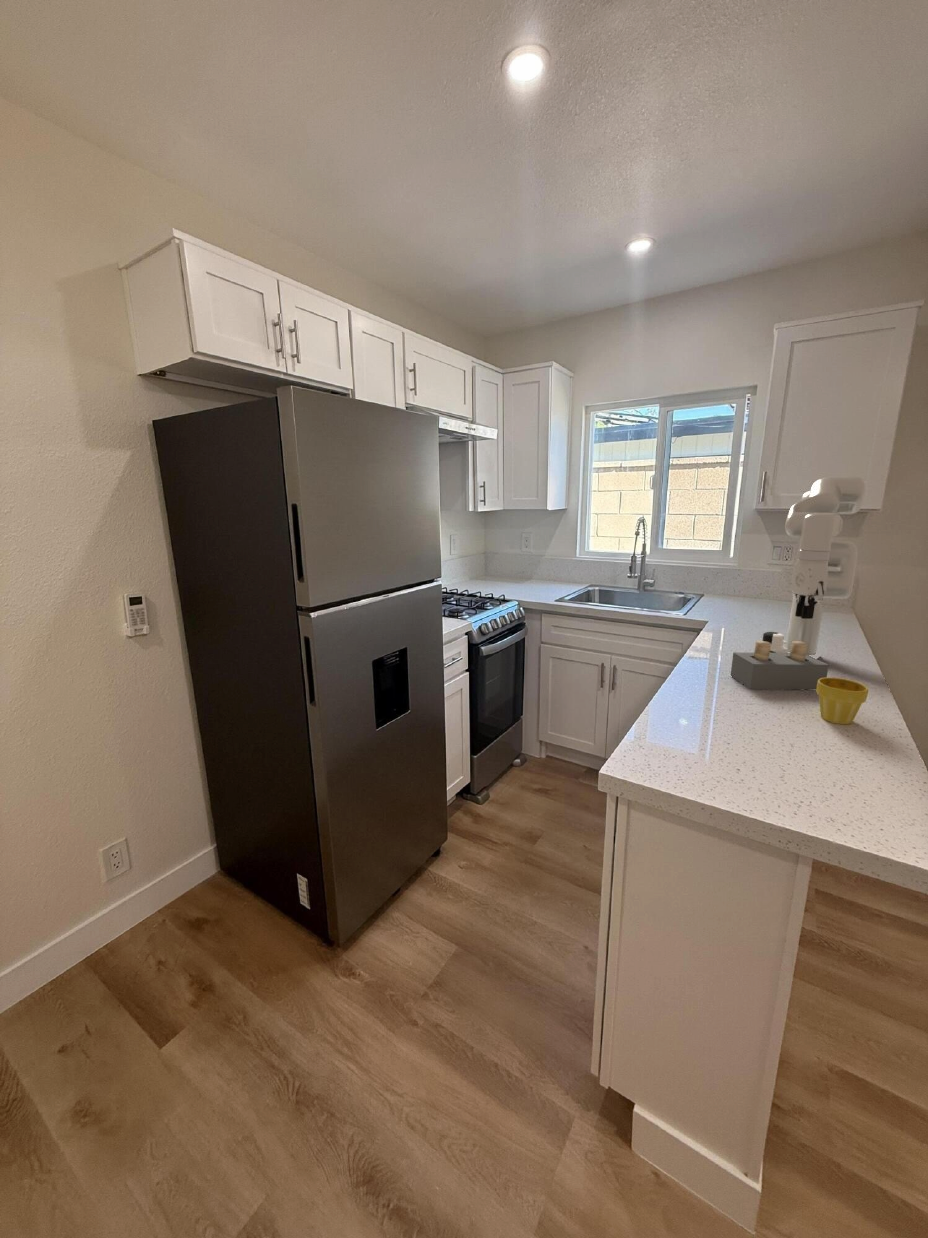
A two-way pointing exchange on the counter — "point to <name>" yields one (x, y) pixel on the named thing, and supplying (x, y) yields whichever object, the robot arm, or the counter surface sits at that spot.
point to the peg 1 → (762, 650)
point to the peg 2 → (798, 651)
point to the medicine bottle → (775, 642)
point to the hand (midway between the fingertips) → (803, 617)
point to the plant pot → (840, 699)
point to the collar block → (777, 671)
